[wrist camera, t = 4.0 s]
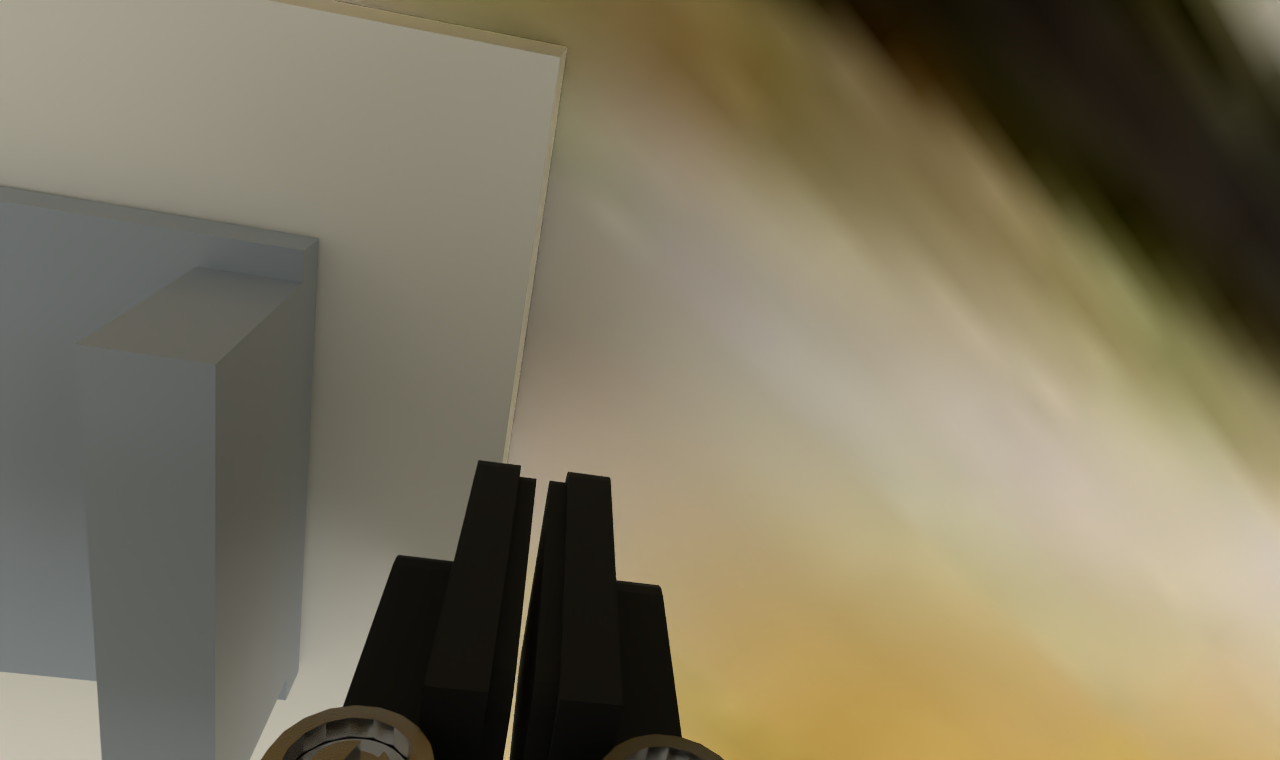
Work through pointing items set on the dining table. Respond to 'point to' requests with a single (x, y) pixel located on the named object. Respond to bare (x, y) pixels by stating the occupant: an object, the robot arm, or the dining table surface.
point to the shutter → (154, 466)
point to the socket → (347, 255)
